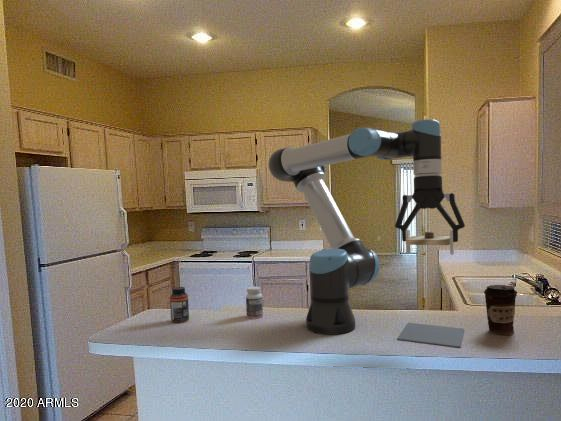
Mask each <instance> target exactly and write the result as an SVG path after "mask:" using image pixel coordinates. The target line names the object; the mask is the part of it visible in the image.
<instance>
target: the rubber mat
mask: <svg viewBox="0 0 561 421" xmlns="http://www.w3.org/2000/svg"><path fill="white" fill-rule="evenodd" d="M464 329H465V328H464V327H463V328H462V327H456V326H455V327H453V326H445V325H436V324H435V325H434V324H424V323H416V322H407V323H406V325H405V326H404V327H403V329H402V330H401V332H400V333H399V335H398V336H397V338H396V340H397V341H405V342H414V343H421V344H428V345H429V344H430V345H436V346H437V345H438V346H442V347H444V346H445V347H451V348H452V347H453V348H458V349H460V348H461V347H462V342H463V340H464V339H463V337H464V334H465V330H464Z"/></svg>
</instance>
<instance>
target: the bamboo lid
mask: <svg viewBox="0 0 561 421" xmlns="http://www.w3.org/2000/svg"><path fill="white" fill-rule="evenodd" d="M406 245H410V246H411V245H412V246H413V245H414V246H450V235H448V236H445V235H444V236H443V235H442V236H441V235H437V236H436V235H435V232H434V231H424V235H421V236H420V235H412V236H410V238H408V239H406V241H405V246H406Z"/></svg>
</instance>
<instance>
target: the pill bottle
mask: <svg viewBox="0 0 561 421" xmlns="http://www.w3.org/2000/svg"><path fill="white" fill-rule="evenodd" d="M261 288H262V287H261V286H248V287H247V288H246V292H247V294H246V295H245V304H246V306H245V307H246V308H245V310H246V317H247V318H248V319H252V318H255V319H259V318H262V317H263V316H264V302H263V301H264V300H263V299H264V298H263V294H262V293H261V292H262V290H261Z"/></svg>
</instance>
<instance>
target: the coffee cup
mask: <svg viewBox="0 0 561 421" xmlns="http://www.w3.org/2000/svg"><path fill="white" fill-rule="evenodd" d="M483 293H484V298H485V308H486V315H487V316H486V317H487V318H486V319H487V325H488V331H489V332H490V333H493V334H496V335H505V336H506V335H508V336H509V335H513V334H515V329H514V318H515V315H516V299H517V298H516V297H517V296H518V291H517V290H515V287H514V286H512V285H508V284H506V285H505V284H493V285H492V284H490V285H488V286H486V288H485V289H484V290H483Z"/></svg>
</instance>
